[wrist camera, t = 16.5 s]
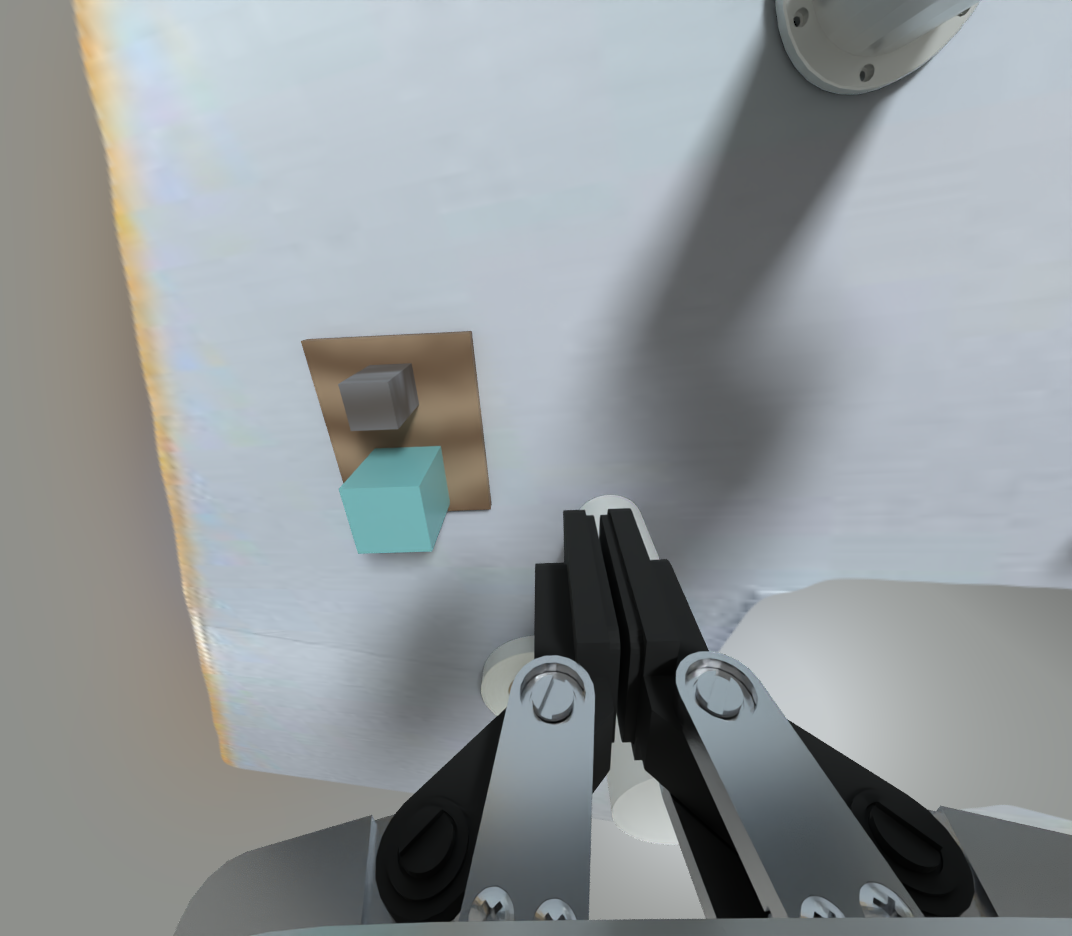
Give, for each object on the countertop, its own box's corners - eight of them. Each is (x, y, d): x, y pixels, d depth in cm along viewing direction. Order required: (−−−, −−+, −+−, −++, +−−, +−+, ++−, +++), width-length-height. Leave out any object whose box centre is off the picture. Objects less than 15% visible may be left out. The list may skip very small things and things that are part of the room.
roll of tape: (476, 702, 57) (474, 723, 54) (491, 625, 50) (488, 644, 47) (584, 715, 58) (586, 736, 55) (612, 642, 51) (616, 662, 49)
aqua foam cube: (374, 448, 38) (338, 489, 31) (440, 446, 38) (419, 486, 31) (388, 504, 40) (358, 553, 34) (450, 503, 40) (432, 551, 34)
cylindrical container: (639, 550, 44) (741, 844, 22) (573, 551, 44) (608, 845, 22) (644, 493, 41) (772, 770, 19) (574, 495, 41) (615, 772, 19)
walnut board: (307, 339, 34) (255, 356, 28) (471, 331, 34) (456, 346, 28) (356, 509, 42) (325, 552, 36) (491, 504, 42) (483, 546, 35)
